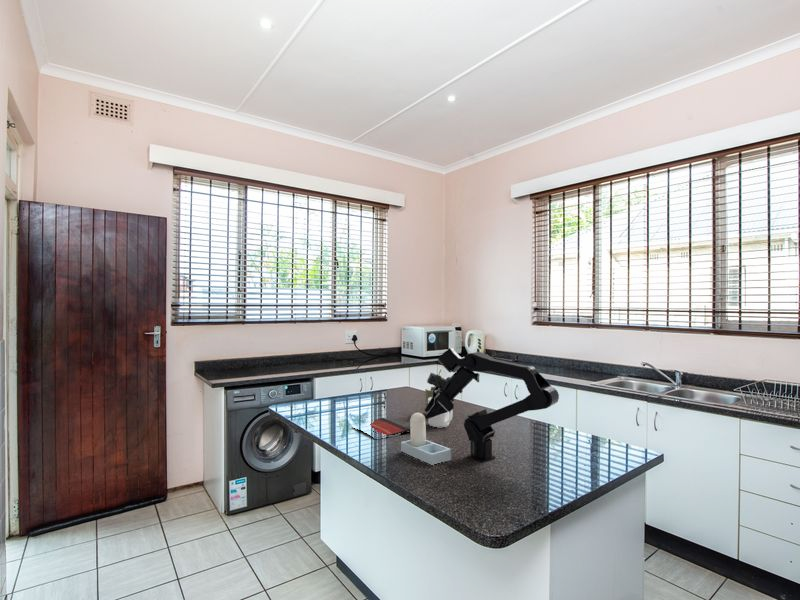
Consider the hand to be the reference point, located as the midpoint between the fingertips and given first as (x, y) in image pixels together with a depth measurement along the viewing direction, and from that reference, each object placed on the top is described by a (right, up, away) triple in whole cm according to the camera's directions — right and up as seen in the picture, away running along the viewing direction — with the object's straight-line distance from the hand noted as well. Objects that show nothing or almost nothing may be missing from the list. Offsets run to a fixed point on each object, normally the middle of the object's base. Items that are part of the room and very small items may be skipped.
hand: (425, 414), depth 145 cm
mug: (+9, -14, +32) cm, 36 cm away
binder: (-17, -14, +27) cm, 35 cm away
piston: (+9, -14, +50) cm, 53 cm away
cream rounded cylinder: (-2, -12, 0) cm, 12 cm away
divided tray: (0, -13, -3) cm, 13 cm away
